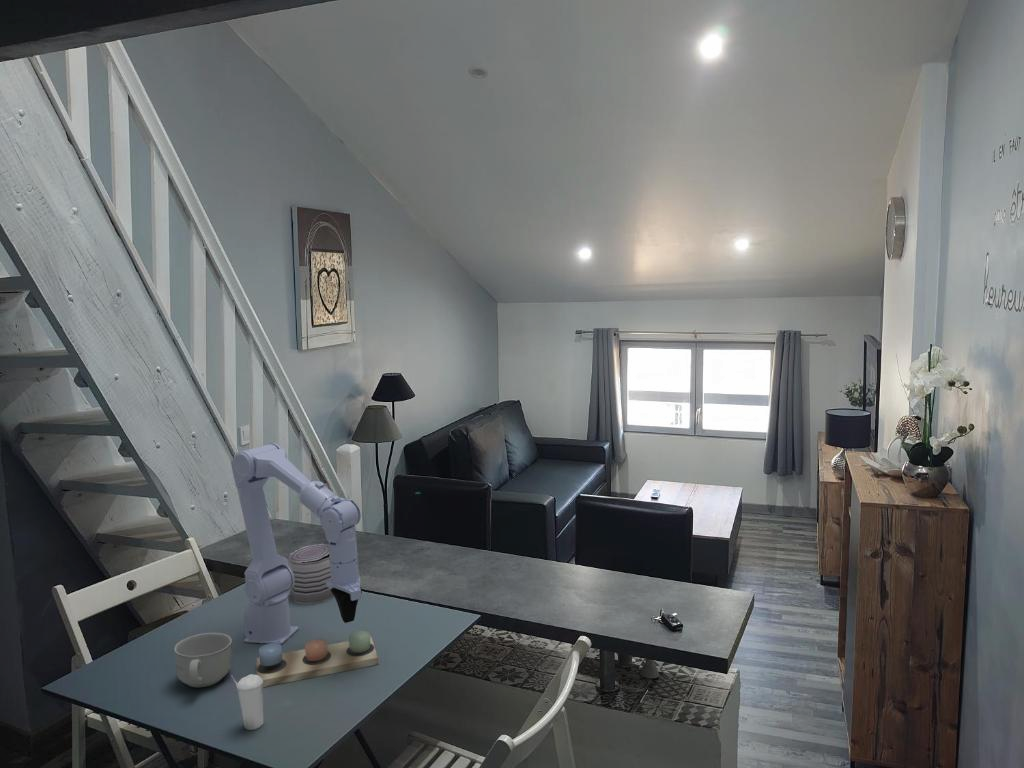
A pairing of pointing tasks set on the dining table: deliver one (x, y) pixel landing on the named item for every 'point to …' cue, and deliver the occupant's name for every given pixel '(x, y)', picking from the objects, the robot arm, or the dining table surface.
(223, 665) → the teacup
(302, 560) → the can
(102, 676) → the dining table surface
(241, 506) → the robot arm
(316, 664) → the button panel
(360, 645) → the sage button
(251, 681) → the milkshake
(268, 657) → the slate button
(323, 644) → the terracotta button
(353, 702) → the dining table surface
